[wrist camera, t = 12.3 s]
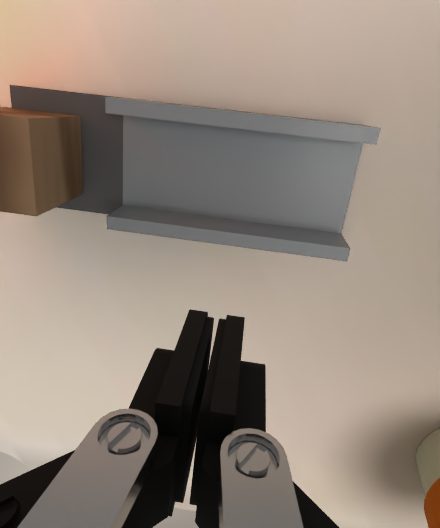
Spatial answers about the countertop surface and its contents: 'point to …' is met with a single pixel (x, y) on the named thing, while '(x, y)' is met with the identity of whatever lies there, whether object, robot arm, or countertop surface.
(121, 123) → the mat
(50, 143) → the block
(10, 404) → the countertop surface
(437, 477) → the reusable coffee cup
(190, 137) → the chute
